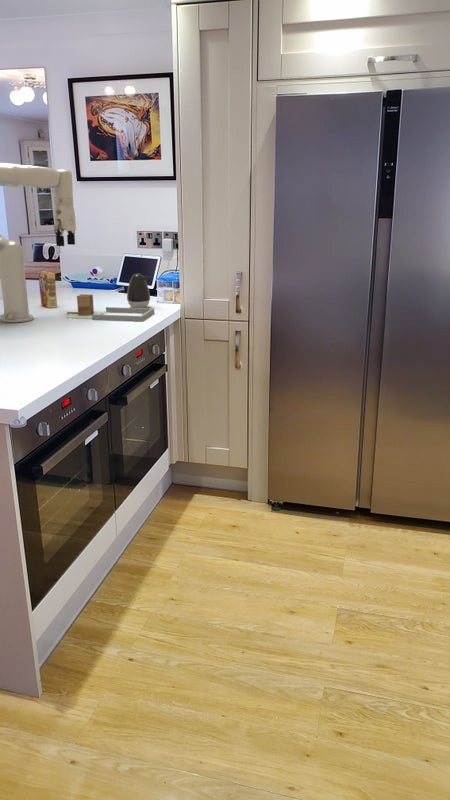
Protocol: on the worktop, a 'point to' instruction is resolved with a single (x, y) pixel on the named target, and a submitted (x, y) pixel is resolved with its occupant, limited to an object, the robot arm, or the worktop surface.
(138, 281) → the dark grey tall ovoid
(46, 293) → the candy box
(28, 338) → the worktop surface
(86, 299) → the walnut block
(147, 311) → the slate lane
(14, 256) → the robot arm
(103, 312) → the mat
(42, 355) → the worktop surface
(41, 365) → the worktop surface
